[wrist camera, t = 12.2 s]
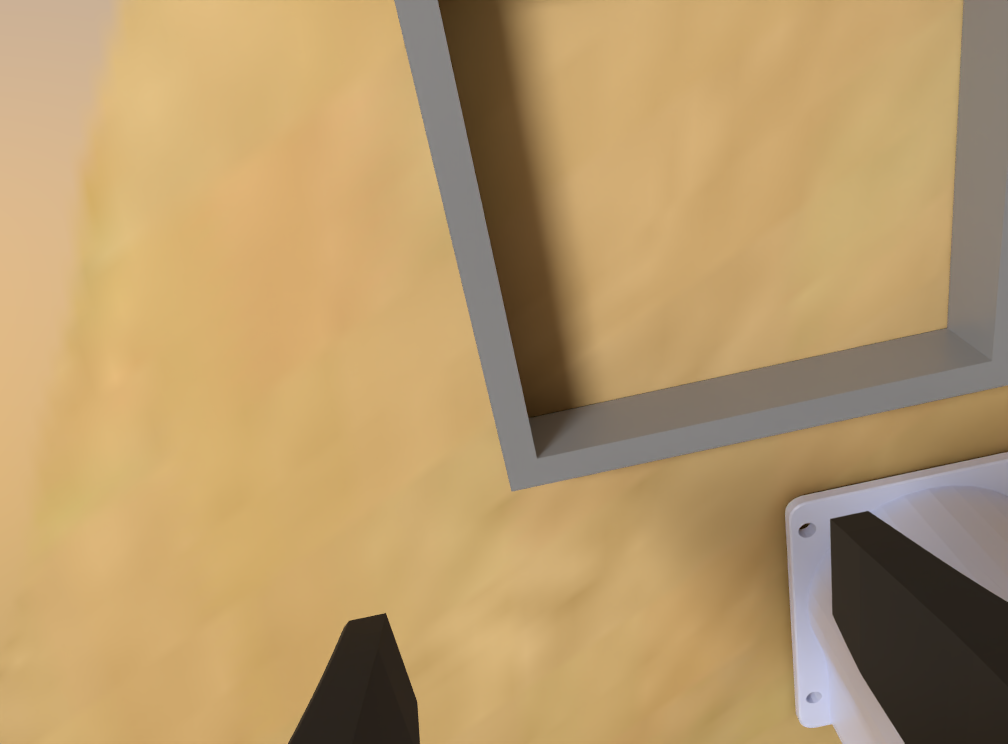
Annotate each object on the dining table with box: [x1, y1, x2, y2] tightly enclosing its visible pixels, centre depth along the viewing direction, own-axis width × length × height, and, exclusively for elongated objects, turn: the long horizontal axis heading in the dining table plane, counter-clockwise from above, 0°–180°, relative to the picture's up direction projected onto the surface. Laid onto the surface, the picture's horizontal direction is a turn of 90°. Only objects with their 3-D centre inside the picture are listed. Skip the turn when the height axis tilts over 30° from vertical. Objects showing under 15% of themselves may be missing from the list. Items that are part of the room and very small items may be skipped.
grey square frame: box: [394, 0, 1008, 491], centre depth 19 cm, size 13×13×2 cm
